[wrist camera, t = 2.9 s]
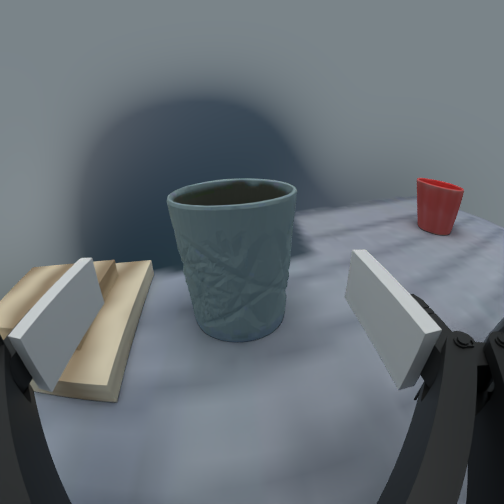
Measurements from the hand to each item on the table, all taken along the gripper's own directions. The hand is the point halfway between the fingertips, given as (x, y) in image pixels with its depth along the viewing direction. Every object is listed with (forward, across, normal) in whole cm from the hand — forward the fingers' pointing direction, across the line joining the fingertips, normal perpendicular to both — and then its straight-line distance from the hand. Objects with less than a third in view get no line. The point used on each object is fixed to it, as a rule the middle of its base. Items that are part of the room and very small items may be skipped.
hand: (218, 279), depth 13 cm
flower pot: (+32, +41, -9) cm, 53 cm away
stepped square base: (+8, -19, -10) cm, 23 cm away
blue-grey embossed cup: (+10, +1, -10) cm, 14 cm away
